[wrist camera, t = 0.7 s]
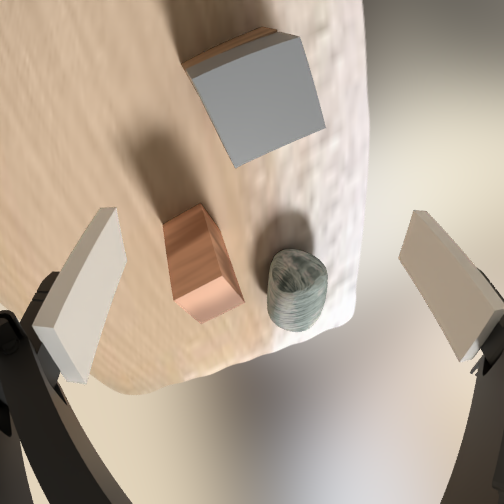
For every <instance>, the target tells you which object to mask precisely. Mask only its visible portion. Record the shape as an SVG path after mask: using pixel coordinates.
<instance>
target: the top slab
mask: <svg viewBox="0 0 504 504" xmlns="http://www.w3.org/2000/svg"><path fill="white" fill-rule="evenodd" d="M186 71H187V73H188V75H189V77H190V79H191V81H192V83H193V85H194V87H195V89H196V91H197V93H198V95H199V97H200V99H201V101H202V103H203V105H204V107H205V109H206V111H207V113H208V115H209V117H210V119H211V121H212V123H213V125H214V127H215V129H216V131H217V134H218V136H219V138H220V140H221V142H222V144H223V146H224V148H225V150H226V152H227V153H228V155H229V157H230V159H231V161H232V163H233V165H234V167H235V168H237V167H239V166H241V165H243V164H245V163H247V162H249V161H251V160H254V159H256V158H258V157H260V156H262V155H264V154H267V153H269V152H271V151H273V150H276V149H278V148H280V147H282V146H285V145H287V144H289V143H291V142H294V141H296V140H298V139H301V138H303V137H305V136H308V135H310V134H312V133H315V132H317V131H320V130H322V129H324V128H326V127H325V123H324V119H323V115H322V111H321V107H320V103H319V100H318V96H317V92H316V89H315V85H314V81H313V78H312V75H311V71H310V68H309V64H308V61H307V58H306V54H305V51H304V48H303V45H302V42H301V39H300V37H299V36H295V35H291V34H287V33H283V32H277V33H274V34H271V35H268V36H265V37H262V38H259V39H256V40H254V41H251V42H248V43H245V44H243V45H240V46H238V47H235V48H233V49H230V50H228V51H225V52H223V53H220V54H218V55H216V56H213V57H211V58H209V59H207V60H204V61H202V62H200V63H198V64H196V65H193V66H191V67H189V68H187V69H186Z"/></svg>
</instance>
